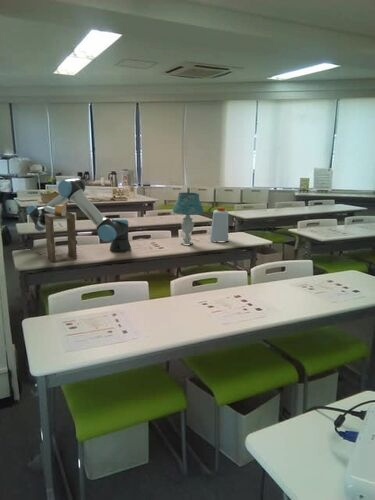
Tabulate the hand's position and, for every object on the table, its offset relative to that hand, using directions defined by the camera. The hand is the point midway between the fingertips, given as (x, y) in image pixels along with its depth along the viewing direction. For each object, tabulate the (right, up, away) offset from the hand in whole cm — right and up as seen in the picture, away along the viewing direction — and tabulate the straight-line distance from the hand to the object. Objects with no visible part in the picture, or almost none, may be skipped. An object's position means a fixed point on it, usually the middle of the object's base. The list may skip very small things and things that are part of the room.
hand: (51, 210), depth 249 cm
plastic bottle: (+119, -19, +59) cm, 134 cm away
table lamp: (+92, -22, +45) cm, 105 cm away
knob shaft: (+5, -3, -8) cm, 10 cm away
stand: (+9, -33, -3) cm, 34 cm away
